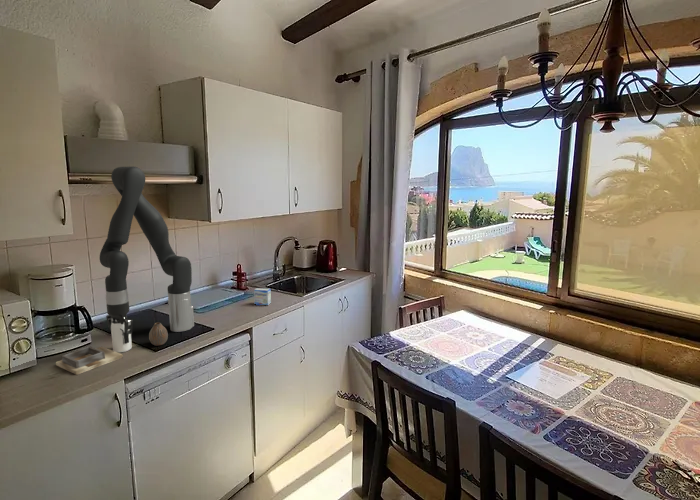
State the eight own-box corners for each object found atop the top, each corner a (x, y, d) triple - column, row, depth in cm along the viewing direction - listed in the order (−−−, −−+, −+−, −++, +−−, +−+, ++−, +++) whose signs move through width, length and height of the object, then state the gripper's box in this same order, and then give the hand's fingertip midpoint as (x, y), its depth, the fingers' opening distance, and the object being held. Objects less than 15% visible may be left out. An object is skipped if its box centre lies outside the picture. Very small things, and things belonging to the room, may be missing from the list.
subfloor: (102, 349, 156) (101, 340, 155) (122, 357, 149) (122, 348, 148) (56, 365, 142) (54, 355, 141) (76, 374, 135) (75, 364, 135)
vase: (172, 341, 164) (170, 321, 162) (159, 348, 157) (157, 327, 156) (159, 339, 166) (157, 319, 165) (145, 345, 160) (144, 325, 158)
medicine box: (254, 305, 213) (253, 289, 212) (257, 302, 218) (257, 287, 216) (268, 306, 212) (267, 290, 211) (271, 303, 216) (270, 288, 215)
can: (123, 353, 152) (121, 324, 150) (109, 352, 153) (106, 322, 151) (135, 347, 158) (133, 318, 156) (121, 345, 159) (118, 317, 157)
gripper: (138, 301, 152) (141, 343, 155) (116, 295, 159) (120, 335, 162) (118, 306, 146) (122, 349, 149) (97, 300, 153) (101, 341, 156)
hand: (121, 342), depth 155 cm, fingers closed on can, 5 cm apart
